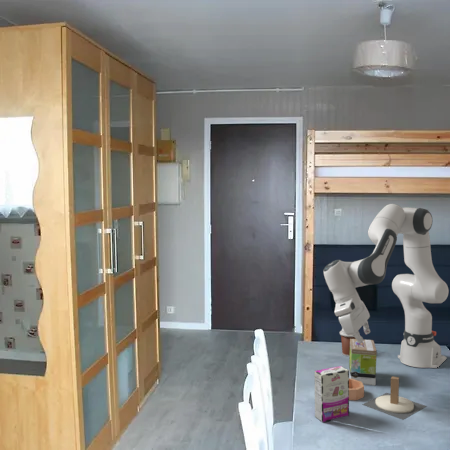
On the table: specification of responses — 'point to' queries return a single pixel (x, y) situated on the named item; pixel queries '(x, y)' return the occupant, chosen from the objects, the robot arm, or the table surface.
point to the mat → (399, 415)
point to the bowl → (355, 389)
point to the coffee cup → (346, 342)
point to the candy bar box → (331, 393)
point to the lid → (394, 400)
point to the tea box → (363, 361)
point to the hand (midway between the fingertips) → (364, 337)
